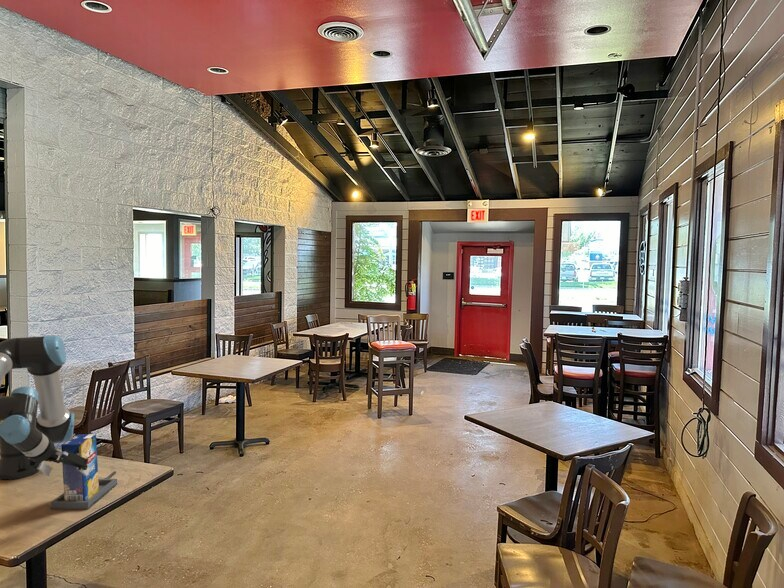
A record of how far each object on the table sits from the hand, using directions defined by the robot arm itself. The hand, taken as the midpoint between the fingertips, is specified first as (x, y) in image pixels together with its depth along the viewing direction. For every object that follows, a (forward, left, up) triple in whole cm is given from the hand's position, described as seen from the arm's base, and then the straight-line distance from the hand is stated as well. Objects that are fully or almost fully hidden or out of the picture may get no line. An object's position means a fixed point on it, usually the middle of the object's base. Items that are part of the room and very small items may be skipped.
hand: (68, 472), depth 185 cm
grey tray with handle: (-14, 0, -13) cm, 20 cm away
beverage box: (-7, 0, -13) cm, 15 cm away
